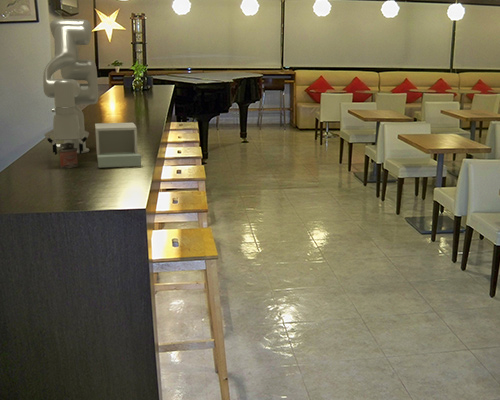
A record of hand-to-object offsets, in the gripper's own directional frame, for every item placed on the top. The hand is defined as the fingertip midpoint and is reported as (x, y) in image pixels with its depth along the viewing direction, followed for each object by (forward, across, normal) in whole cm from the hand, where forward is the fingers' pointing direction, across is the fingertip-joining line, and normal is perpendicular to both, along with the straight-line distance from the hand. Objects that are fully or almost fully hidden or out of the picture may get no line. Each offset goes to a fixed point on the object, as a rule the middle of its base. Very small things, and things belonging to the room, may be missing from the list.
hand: (68, 153), depth 243 cm
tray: (+5, +20, +2) cm, 21 cm away
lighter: (+6, 0, +1) cm, 6 cm away
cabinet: (+5, +20, +18) cm, 27 cm away
